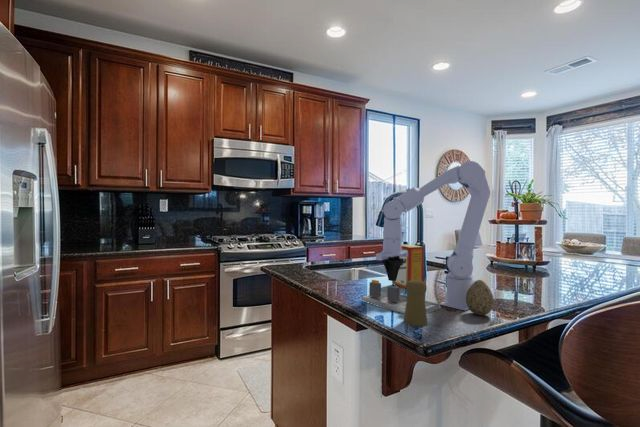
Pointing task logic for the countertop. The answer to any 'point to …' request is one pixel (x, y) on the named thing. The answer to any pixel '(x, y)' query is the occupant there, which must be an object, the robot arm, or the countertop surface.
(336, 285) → the countertop surface
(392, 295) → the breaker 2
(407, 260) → the baking soda box
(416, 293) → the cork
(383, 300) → the panel
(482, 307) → the decorative egg
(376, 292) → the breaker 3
